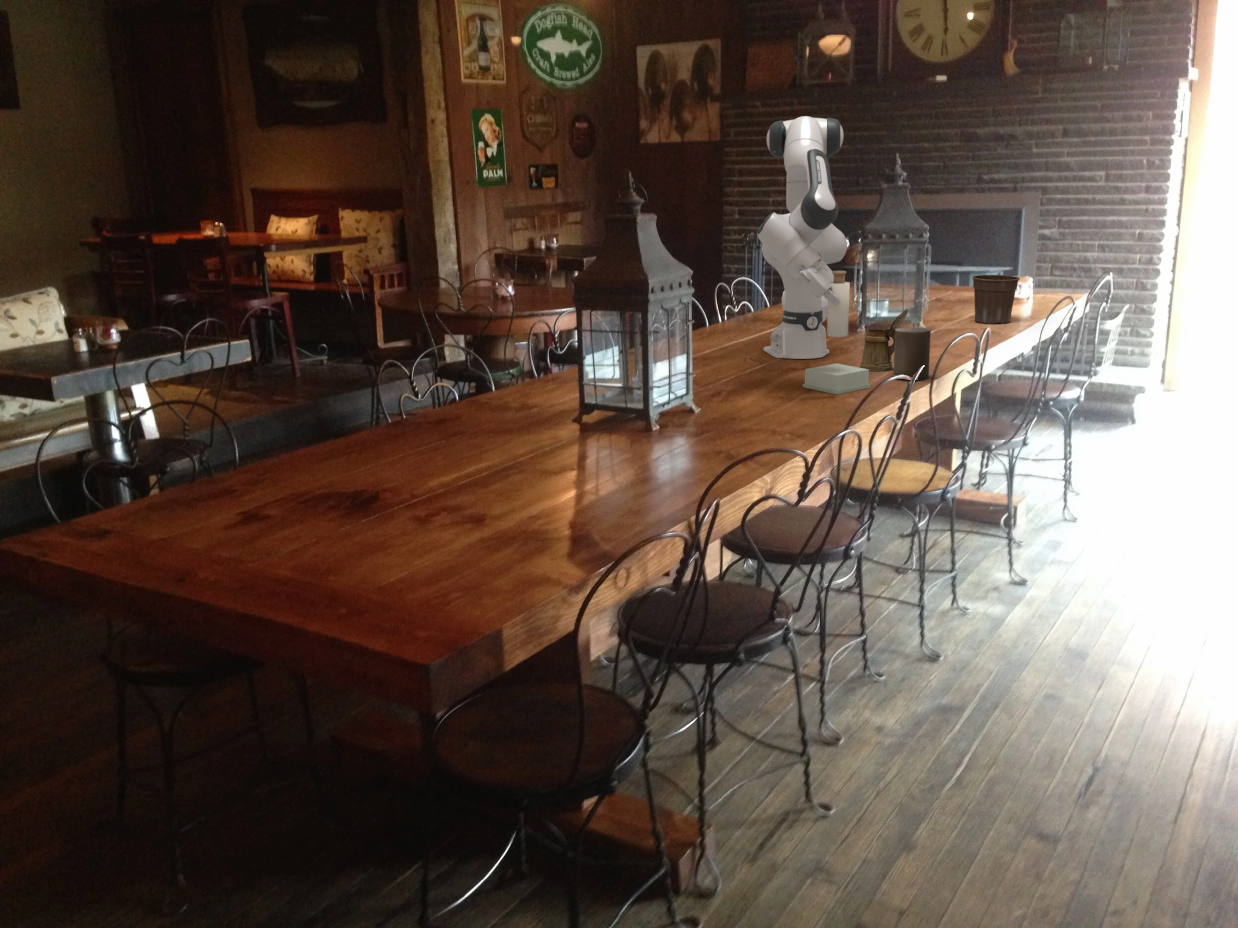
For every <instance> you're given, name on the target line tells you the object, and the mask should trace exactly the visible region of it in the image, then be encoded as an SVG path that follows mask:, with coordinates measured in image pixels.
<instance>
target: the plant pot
mask: <svg viewBox="0 0 1238 928" xmlns="http://www.w3.org/2000/svg"><path fill="white" fill-rule="evenodd" d="M971 278H972V280H973V282H972V283H973V286H972V288H973V289H974V291H973V295H974V322H977V323H980V324H984V325H985V324H986V325H997V324H1000V325H1005V324H1009V323H1010V322H1011V317H1012V311H1013V307H1014V300H1015V295H1016V290H1018V289H1017V288H1018V284H1019V281H1020V279H1021V278H1020V277H1019V276H1014V275H1006V274H978V275H973V276H971Z"/></svg>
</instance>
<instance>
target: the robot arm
mask: <svg viewBox="0 0 1238 928" xmlns="http://www.w3.org/2000/svg"><path fill="white" fill-rule="evenodd" d="M843 142H844V129H843V127H842V124H841V122H840V121H839V119H837V118H832V117H827V118H821V117H812V116H807V115H805V116H799V117H797V118H794V119H790V120H789V119H788V120H783V119H782V120H778V121H774V122H773V123H772V124H771V125H770V126H769V129H768V130H767V133H766V145H767V148H768V151H769V154H771V155H772V157H774V158H780V159H783V162H784V170H785V172H786V181H785V182H786V189H785V190H786V191H785V193H786V197H785V198H786V199H785V201H786V203H785V204H786V209H787V211H789V213H784V214H779V213H776V212H772V213H770V214H769V215H768V216H767V217H766V218H765V219H764V221H763V222H762V224H761V225H760V226H759V227H758V229H757V234H756V235H757V237H758V239H759V241H760V242H761V244H762V245H761V252H762V256H763V258H764V260H765V261H766V263H768V264H769V265H770V266H771V267H773V268H774V269H775V270H776V272H777V273H778V275H780V278H781V280H782V283H783V287H784V291H785V311H784V310H783V311H781V313H782V314H781V315H782V319H781V321H782V322H781V323H780V324H779V325H778V326H777V327H776V328H775V329H774V330H773V331H772V333H771V335H770V336H769V341H770V345H768V346H764V347H763V351H764V352H765V353H767V354H769V355H770V356H772V357H773V358H775V359H794V360H799V359H800V360H802V359H803V360H804V359H805V360H809V359H818V358H823V357H826V355H828V354H830V349H828V348H827V337H826V336H827V332H826V328H825V327H826V326H824V325H823V323H821V322H822V321H823V311H822V310H821V297H822V295H823V296H824V297H825V298H826V299H827V300H829V301H830V302H832V303H833V304H834V306H837V305H838V304H839V303H840V302H841V300H840V299H839V298H838V297H836V296H835V295H834V294H833V293H832V291H831V290H830V289H829V288H831V283H832V282H833V274H832V271H833V270H832V269H831V268H830V267H829V266H828V265H829V264H830V265H831V264H835V263H839V262H841V261H842V260H843V258H844V256H846V253H847V249H848V241H847V239H846V236H845V234H844V233H843V232H842V231H841V230H840V229H838V227H836V226H835V225H834V224H833V223H834V222H835V221H836V220H837V218H838V215H839V206H838V202H837V200H836V198H835V195H834V191H833V184H832V178H831V177H832V176H831V169H830V163H829V159H830V157H832V156H835V155H836V154H837V153H838V152H839V151H840V150H841V148H842V145H843Z"/></svg>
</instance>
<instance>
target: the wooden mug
mask: <svg viewBox="0 0 1238 928" xmlns="http://www.w3.org/2000/svg"><path fill="white" fill-rule="evenodd" d="M908 313H909V310H908V308H906V309H905V310H903V311H902V312H900V314H898V316H897V317H896V318H895V319H894V320H893V322H892V323H891V326H890V328H886V329H882V328H872V329H867V330H866V334H865V336H864V347H863V351H862V352H863V353H862V356H861V357H862V358H861V361H860V365H859V368H863V369H869V371H870V372H885V371H890V370H892V368H893V362H892V361H891V360H892V357H893V355H894V349H895V329H897V328H899V326H900V325H901V324H902V322H903V321H904V319H905V318H906V317H907V315H908ZM891 339H892V342H893V343H892V344H890V345H889V341H891Z"/></svg>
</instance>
